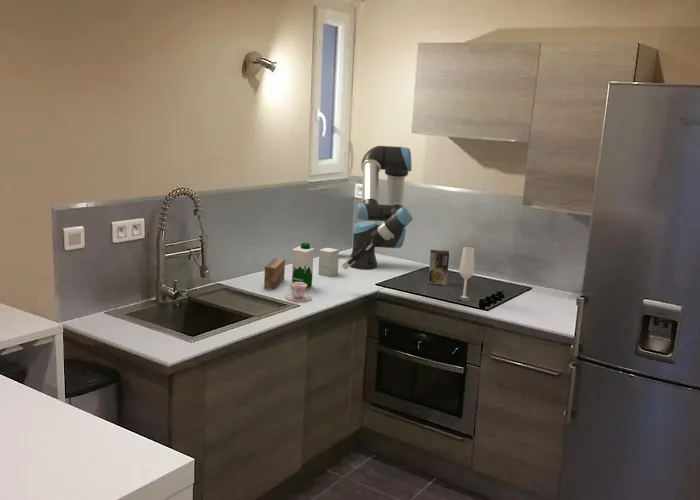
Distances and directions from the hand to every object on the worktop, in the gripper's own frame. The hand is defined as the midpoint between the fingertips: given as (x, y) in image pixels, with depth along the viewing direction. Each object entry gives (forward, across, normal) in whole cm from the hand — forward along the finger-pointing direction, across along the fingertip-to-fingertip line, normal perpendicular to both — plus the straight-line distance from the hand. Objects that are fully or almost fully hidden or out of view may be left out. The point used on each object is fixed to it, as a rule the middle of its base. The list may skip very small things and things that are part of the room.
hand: (343, 267), depth 318 cm
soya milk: (+22, +1, +6) cm, 22 cm away
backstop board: (+31, +1, +15) cm, 34 cm away
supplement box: (+16, +27, 0) cm, 31 cm away
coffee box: (-22, +29, -38) cm, 53 cm away
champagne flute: (-31, +6, -47) cm, 57 cm away
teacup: (+20, -16, +4) cm, 26 cm away
